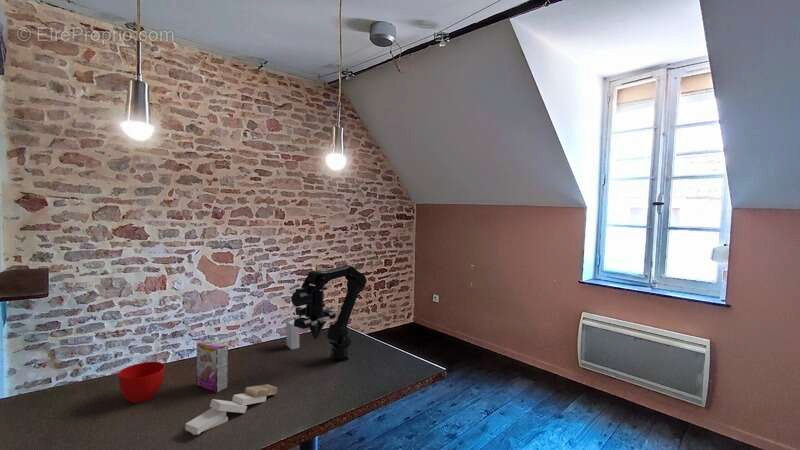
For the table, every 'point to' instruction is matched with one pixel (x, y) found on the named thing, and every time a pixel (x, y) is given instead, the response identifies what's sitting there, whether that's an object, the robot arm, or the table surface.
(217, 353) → the candy bar box
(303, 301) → the robot arm
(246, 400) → the domino
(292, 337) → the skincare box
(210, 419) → the domino
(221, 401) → the domino
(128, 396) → the red bowl
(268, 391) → the domino
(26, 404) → the table surface
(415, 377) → the table surface
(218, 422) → the domino
